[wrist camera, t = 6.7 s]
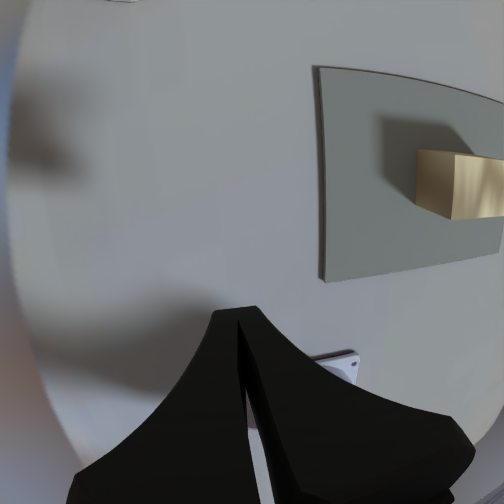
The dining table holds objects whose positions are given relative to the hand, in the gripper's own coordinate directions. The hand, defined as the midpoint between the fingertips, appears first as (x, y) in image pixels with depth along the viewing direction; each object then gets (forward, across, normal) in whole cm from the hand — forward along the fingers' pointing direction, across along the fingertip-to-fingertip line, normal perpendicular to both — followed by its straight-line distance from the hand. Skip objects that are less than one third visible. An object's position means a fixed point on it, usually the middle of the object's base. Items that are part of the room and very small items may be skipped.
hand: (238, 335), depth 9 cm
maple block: (+8, -14, -3) cm, 16 cm away
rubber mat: (+10, -16, -3) cm, 19 cm away
